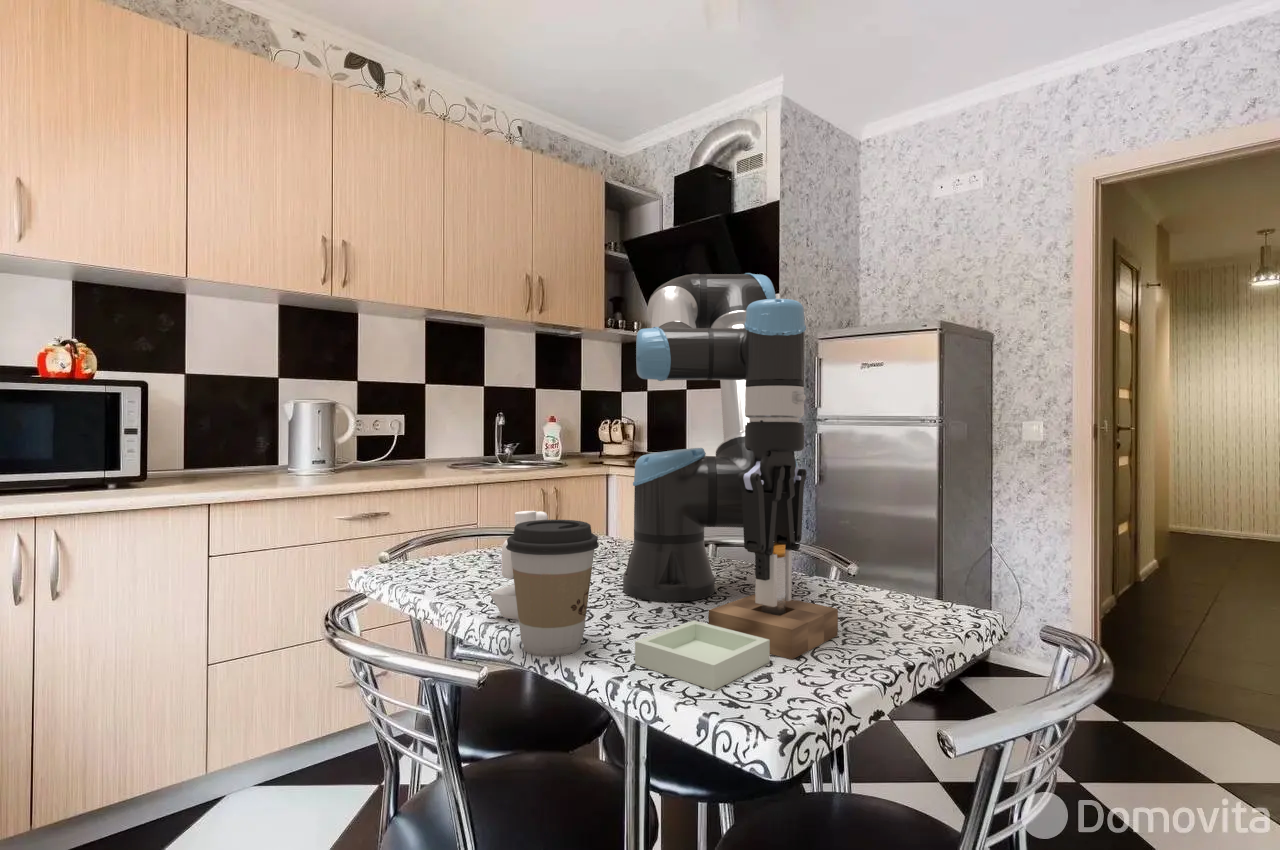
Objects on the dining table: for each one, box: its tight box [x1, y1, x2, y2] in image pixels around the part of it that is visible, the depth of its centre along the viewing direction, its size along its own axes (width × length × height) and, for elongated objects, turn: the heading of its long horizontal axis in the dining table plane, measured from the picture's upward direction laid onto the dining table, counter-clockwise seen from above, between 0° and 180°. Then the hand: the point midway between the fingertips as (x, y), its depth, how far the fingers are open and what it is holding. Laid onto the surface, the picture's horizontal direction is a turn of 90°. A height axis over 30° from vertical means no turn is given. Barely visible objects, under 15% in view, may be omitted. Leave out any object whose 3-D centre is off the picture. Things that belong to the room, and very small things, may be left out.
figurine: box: [489, 510, 549, 621], centre depth 94 cm, size 7×9×15 cm
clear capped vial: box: [762, 542, 786, 616], centre depth 85 cm, size 3×3×12 cm
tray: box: [634, 620, 771, 691], centre depth 75 cm, size 11×11×3 cm
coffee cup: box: [506, 519, 600, 658], centre depth 81 cm, size 11×11×15 cm
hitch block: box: [708, 593, 839, 661], centre depth 85 cm, size 12×12×4 cm
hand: (773, 601), depth 85 cm, fingers closed on clear capped vial, 3 cm apart
